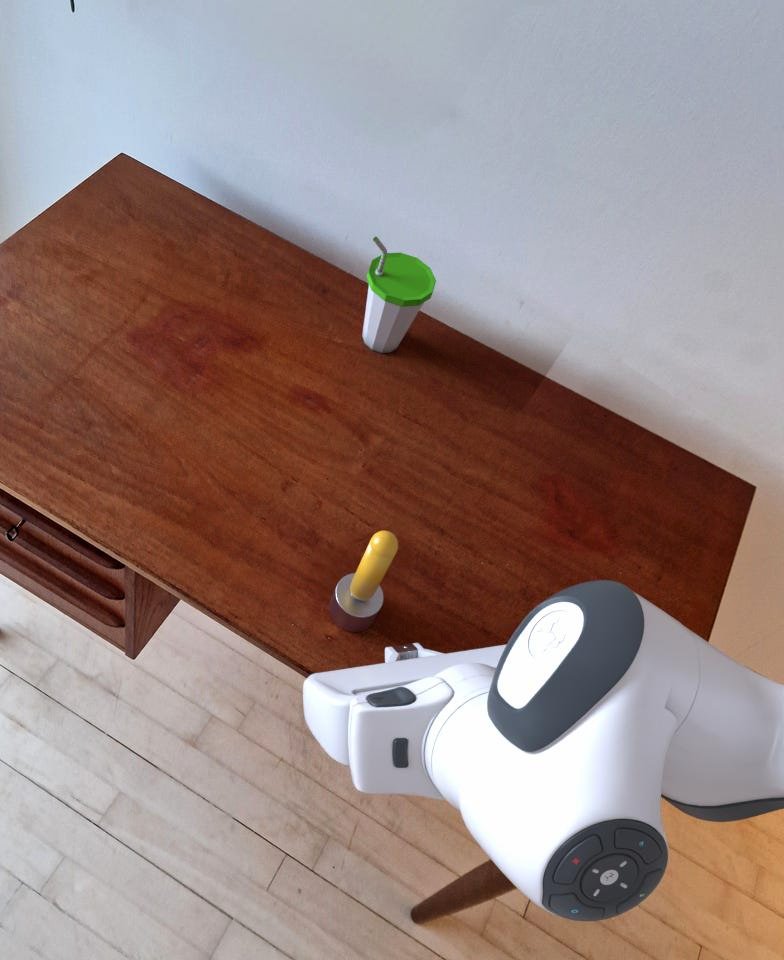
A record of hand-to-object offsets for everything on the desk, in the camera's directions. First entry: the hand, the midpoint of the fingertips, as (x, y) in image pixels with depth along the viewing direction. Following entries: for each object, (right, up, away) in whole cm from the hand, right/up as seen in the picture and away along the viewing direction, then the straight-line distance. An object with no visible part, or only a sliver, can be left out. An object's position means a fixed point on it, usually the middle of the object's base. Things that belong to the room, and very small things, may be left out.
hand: (400, 653), depth 72 cm
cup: (+1, +32, +31) cm, 45 cm away
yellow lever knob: (-4, +2, +10) cm, 11 cm away
